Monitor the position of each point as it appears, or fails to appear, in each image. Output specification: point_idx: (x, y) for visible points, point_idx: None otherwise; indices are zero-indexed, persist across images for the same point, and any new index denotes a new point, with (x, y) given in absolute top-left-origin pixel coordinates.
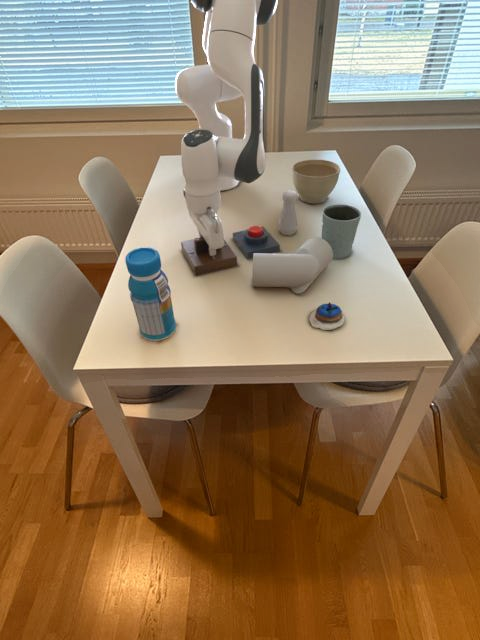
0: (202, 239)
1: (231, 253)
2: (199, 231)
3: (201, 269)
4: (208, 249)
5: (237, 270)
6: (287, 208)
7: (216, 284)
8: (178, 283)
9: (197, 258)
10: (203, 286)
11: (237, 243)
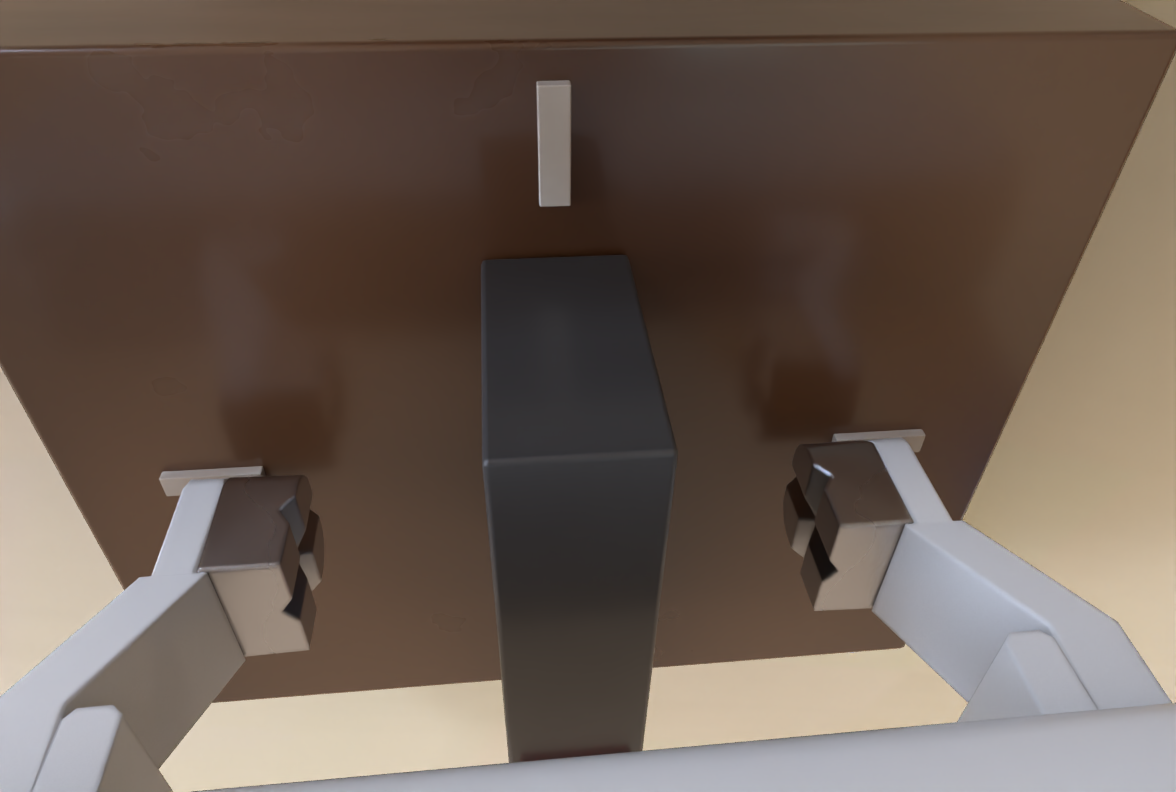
0: (600, 726)
1: (976, 102)
2: (189, 715)
3: None
4: (829, 593)
5: (1160, 10)
6: None
7: (1169, 388)
8: (859, 654)
9: (747, 606)
10: (1079, 502)
11: None
